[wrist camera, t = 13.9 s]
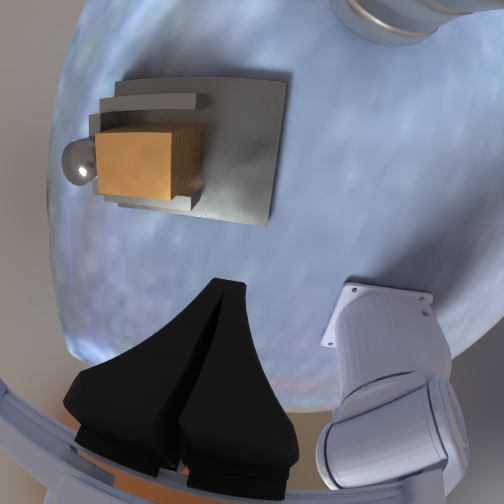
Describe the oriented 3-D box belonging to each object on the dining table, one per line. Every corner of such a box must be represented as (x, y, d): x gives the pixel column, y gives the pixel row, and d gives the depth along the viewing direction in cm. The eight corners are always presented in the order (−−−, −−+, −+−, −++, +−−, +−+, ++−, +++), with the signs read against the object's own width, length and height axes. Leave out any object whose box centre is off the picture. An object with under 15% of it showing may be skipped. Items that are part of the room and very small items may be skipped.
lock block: (202, 123, 16) (171, 132, 12) (199, 174, 18) (170, 200, 14) (135, 122, 16) (91, 133, 12) (135, 169, 18) (95, 193, 14)
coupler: (287, 83, 15) (286, 74, 10) (267, 222, 20) (259, 266, 15) (111, 83, 15) (59, 86, 11) (114, 201, 21) (72, 234, 16)
